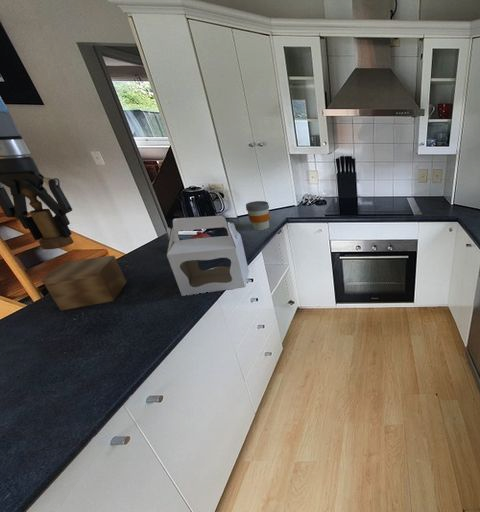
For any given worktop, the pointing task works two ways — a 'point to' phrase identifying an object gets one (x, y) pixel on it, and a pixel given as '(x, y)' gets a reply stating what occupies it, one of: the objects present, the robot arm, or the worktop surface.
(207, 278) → the gable box
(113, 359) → the worktop surface
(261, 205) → the reusable coffee cup
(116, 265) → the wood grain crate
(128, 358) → the worktop surface
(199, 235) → the butter dish
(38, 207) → the mortar and pestle
